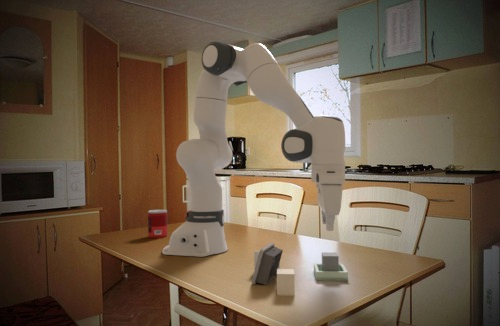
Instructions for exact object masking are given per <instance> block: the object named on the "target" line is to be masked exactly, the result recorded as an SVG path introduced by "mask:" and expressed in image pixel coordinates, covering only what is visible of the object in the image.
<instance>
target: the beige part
mask: <svg viewBox="0 0 500 326" xmlns="http://www.w3.org/2000/svg"><path fill="white" fill-rule="evenodd" d="M276 287H277V288H276V290H277V291H276V295H277V296H287V297H288V296H293V297H295V294H296V293H295V292H296V291H295V269H294V268H280V269H277V274H276Z"/></svg>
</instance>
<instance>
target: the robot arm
mask: <svg viewBox="0 0 500 326" xmlns="http://www.w3.org/2000/svg"><path fill="white" fill-rule="evenodd" d="M267 48H268V47H266V46H265V45H263V44H262V43H258V42H257V43H256V42H255V43H251V44H248V45H247V46H245V47H244V48H242V47H239V46H238V45H233V44H229V43H227V42H223V41H210V42H209V43H208V44H207V45H206V46H205V47H204V49H203V51H202V54H201V65H202V67H203V70H202V71H201V72H200V75H199V78H198V80H197V81H198V82H197V86H196V90H195V91H196V92H195V100H194V109H193V110H194V111H193V122H194V124H195V125H196V127H197V129H198V135H199V138H192V139H188V140H185V141H182V142H181V143H180V144H179V145H178V147H177V149H176V152H175V153H176V154H175V157H176V158H175V159H176V161H177V163H178V165H179V166H180V167H181V168H182V169H183V171H184V173H185V176H186V178H187V181H188V185H189V190H190V191H189V192H190V209H189V210H187V211H186V213H185V214H184V218H185V222H183V223H182V224H180V225H179V226H178V228H175V230H174V231H173V232H172V233H171V234H170V237H169V241H168V245H166V246H165V247H163V249H162V254H163V255H164V256H165V255H166V256H167V255H168V256H169V255H171V256H184V257H185V256H186V257H198V258H199V257H201V258H202V257H208V256H211V255H216V254H221V253H224V252H227V251H228V250H229V249H228V245H227V242H226V241H227V240H226V236H225V230H224V229H225V228H224V226H225V211H224V208H223V187H222V186H221V184H220V183H219V182H218V180H217V179H218V178H217V176H216V173H215V171H219V170H223V169H224V168H226V167H228V166H229V165H230V164H231V162H232V161H233V157H234V155H233V150H232V148H231V146H230V145H229V142H228V137H227V136H228V135H227V129H226V119H227V118H226V117H227V107H228V96H229V89H230V87H231V85H235V86H236V87H238V86H242V85H243V84H248V86H249V89H250V91H251V92H252V94H253V95H254V97H256V98H257V100H258V101H259V102H261V103H262V104H263V103H264V105H265V104H266V105H267V106H271V107H272V108H274V109H276V110H279V111H280V112H282V113H284V114H285V115H286V116H287V117H288V118H289V119H290V120H291V122H292V123H293V125H294V126H295V128H293V129H290V130H288V131H287V132H285V134H284V135H283V137H282V139H281V144H280V145H281V146H280V147H281V152H282V155H283V156H284V158H285V159H286V160H287V161H289V162H293V163H298V164H301V163H302V164H311V174H310V175H311V176H310V177H311V179H310V180H311V183H312V182H313V183H315V188H316V189H317V205H318V207H319V208H320V211H321V223H322V225H325V229H326V231H328V232H333V231H334V225H335V219H336V216H339V215H340V212H341V208H342V201H343V200H342V199H343V185H345V184H346V161H345V157H344V156H345V155H344V154H345V151H346V131H345V125H344V121H343V120H342V119H341V118H340V117H338V116H330V115H324V114H318V115H314V114H313V113H312V112H311V110H310V109H309V108H308V106H307V105H306V103H305V102H304V101H303V99H302V98H301V96H300V94H298V92H297V91H296V90H295V88H294V87H293V85H291V83H290V81H289V79H288V78H287V77H286V75H285V73H284V71H283V70H282V68H281V67H280V64H279V63H278V61H277V60H276V58H275V57H274V55H273V54H272V53H271V52H270V51H269V49H267Z"/></svg>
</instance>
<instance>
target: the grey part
mask: <svg viewBox="0 0 500 326" xmlns="http://www.w3.org/2000/svg"><path fill="white" fill-rule="evenodd" d="M339 261H340V260H339V255H338V252H322V251H321V264H322V271H339V264H340V262H339Z"/></svg>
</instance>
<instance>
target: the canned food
mask: <svg viewBox="0 0 500 326" xmlns="http://www.w3.org/2000/svg"><path fill="white" fill-rule="evenodd" d="M147 226H148V227H147V229H148V231H147V235H148V238H150V239H162V238H163V237H164V238H166V237H168V209H150V210H148V211H147Z"/></svg>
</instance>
